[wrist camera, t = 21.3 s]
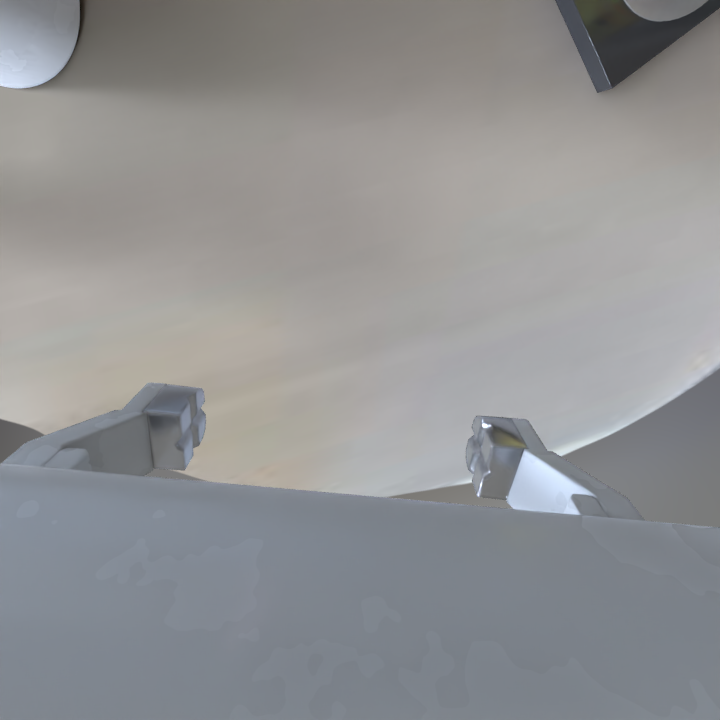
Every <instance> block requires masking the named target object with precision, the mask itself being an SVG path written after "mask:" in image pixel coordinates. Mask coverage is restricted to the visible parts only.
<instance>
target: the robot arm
mask: <svg viewBox="0 0 720 720" xmlns="http://www.w3.org/2000/svg"><path fill="white" fill-rule="evenodd" d="M79 25H80V1H79V0H0V86H3V87H9V88H29V87H34V86H37V85H40V84H43V83H45V82H47V81H49V80H50V79H52V78H53V77H54V76H56V75H57V74H58V73H59V72H60V71H61V70H62V69H63V67H64V66H65V65H66V63H67V62H68V60H69V59H70V57H71V55H72V53H73V50H74V48H75V45H76V41H77V37H78V32H79ZM204 402H205V398H204V391H203V389H202V388H196V387H188V386H179V385H170V384H163V383H147V384H146V385H145V386H144V387H143V388H142V389H141V390H140V391H139V392H138V394H137V395H136V396H135V397H134V398H133V399H132V400H131V401H130V402H129V403H128V404H127V405H126V406H125V407H124V408H123V409H122V410H114V411H111V412H109V413H106V414H103V415H100V416H98V417H95V418H92V419H89V420H86V421H84V422H81V423H78V424H75V425H73V426H70V427H67V428H64V429H62V430H59V431H56V432H53V433H51V434H48V435H45V436H42V437H40V438H37V439H34V440H31V441H29V442H26V443H25V444H24V445H23V446H21V447H20V448H19V449H18V450H17V451H15V452H14V453H13V454H12V455H11V456H9V457H8V458H7V459H6V460H5V461H4V462H2V463H0V720H720V527H709V526H697V525H686V524H675V523H664V522H653V521H645V520H644V518H643V517H642V516H641V515H640V513H639V512H638V511H637V509H636V508H635V507H634V506H633V504H632V503H631V502H630V500H629V499H628V498H627V497H625V496H624V495H622V494H620V493H619V492H617V491H616V490H614V489H612V488H611V487H609V486H608V485H606V484H604V483H603V482H601V481H599V480H598V479H596V478H595V477H593V476H591V475H590V474H588V473H587V472H585V471H583V470H582V469H580V468H578V467H577V466H575V465H574V464H572V463H570V462H569V461H567V460H565V459H564V458H562V457H561V456H559V455H557V454H556V453H554V452H552V451H547V449H546V448H545V446H544V445H543V443H542V441H541V440H540V438H539V437H538V435H537V434H536V432H535V430H534V429H533V427H532V426H531V424H530V422H529V421H528V420H526V419H518V418H503V417H489V416H476V417H475V419H474V421H473V424H472V429H473V432H474V435H473V436H472V437H471V438H470V439H468V443H467V448H466V463H467V467H468V470H469V471H470V472H471V473H472V474H474V475H473V479H472V482H473V485H474V488H475V491H476V494H477V497H483V498H492V499H500V500H507V502H508V504H509V505H510V506H511V507H512V508H513V509H508V508H496V507H486V506H474V505H463V504H452V503H440V502H429V501H418V500H407V499H395V498H385V497H374V496H362V495H351V494H340V493H329V492H318V491H306V490H295V489H284V488H273V487H262V486H251V485H239V484H228V483H217V482H206V481H194V480H183V479H172V478H161V477H150V476H145V475H146V474H148V473H150V472H151V471H153V468H155V469H171V470H185V469H186V467H187V465H188V464H189V462H190V460H191V459H192V457H193V448H195V447H197V446H199V445H200V443H201V441H202V439H203V436H204V432H205V426H206V414H205V413H204V412H203V411H202V409H201V407H202V405H203V404H204Z"/></svg>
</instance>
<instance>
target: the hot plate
mask: <svg viewBox="0 0 720 720" xmlns="http://www.w3.org/2000/svg"><path fill="white" fill-rule="evenodd" d="M555 1H556V3H557V5H558V7H559V9H560V12H561V14H562V16H563V18H564V20H565V23H566V25H567V27H568V29H569V31H570V34H571V36H572V38H573V40H574V42H575V45H576V47H577V49H578V51H579V53H580V56H581V58H582V60H583V62H584V64H585V67H586V69H587V71H588V73H589V75H590V78H591V80H592V82H593V84H594V86H595V89H596V91H597V93H599V92H602V91H605V90H608V89H612V88H613V87H615V86H616V85H617V84H619V83H620V82H621V81H623V80H624V79H625V78H627V77H628V76H629V75H631V74H632V73H633V72H635V71H636V70H637V69H639V68H640V67H641V66H643V65H644V64H645V63H647V62H648V61H650V60H651V59H652V58H654V57H655V56H656V55H658V54H659V53H660V52H662V51H663V50H664V49H666V48H667V47H668V46H670V45H671V44H672V43H674V42H675V41H676V40H678V39H679V38H680V37H682V36H683V35H684V34H686V33H687V32H688V31H690V30H691V29H692V28H694V27H695V26H696V25H698V24H699V23H700V22H702V21H703V20H704V19H706V18H707V17H708V16H710V15H711V14H712V13H714V12H715V11H716V10H718V9H719V8H720V0H555Z"/></svg>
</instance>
